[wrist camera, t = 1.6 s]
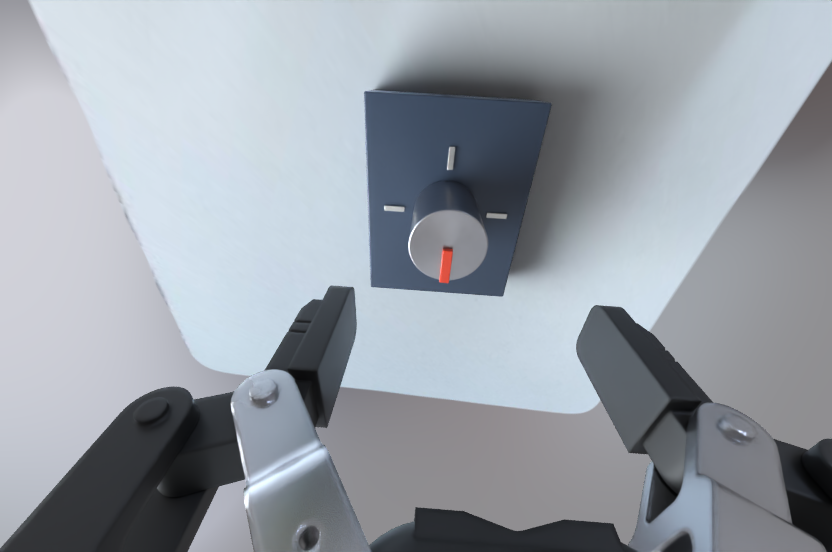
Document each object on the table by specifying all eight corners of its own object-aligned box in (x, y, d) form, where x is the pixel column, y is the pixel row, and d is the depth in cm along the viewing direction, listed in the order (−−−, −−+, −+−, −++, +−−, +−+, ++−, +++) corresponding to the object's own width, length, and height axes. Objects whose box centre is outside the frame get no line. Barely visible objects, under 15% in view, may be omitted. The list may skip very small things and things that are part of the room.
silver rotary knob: (415, 178, 20) (409, 209, 16) (481, 182, 20) (496, 215, 15) (412, 238, 23) (406, 280, 18) (471, 242, 23) (481, 286, 18)
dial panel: (372, 89, 20) (363, 91, 18) (538, 100, 20) (553, 103, 18) (376, 268, 28) (370, 288, 25) (496, 277, 28) (503, 298, 25)
